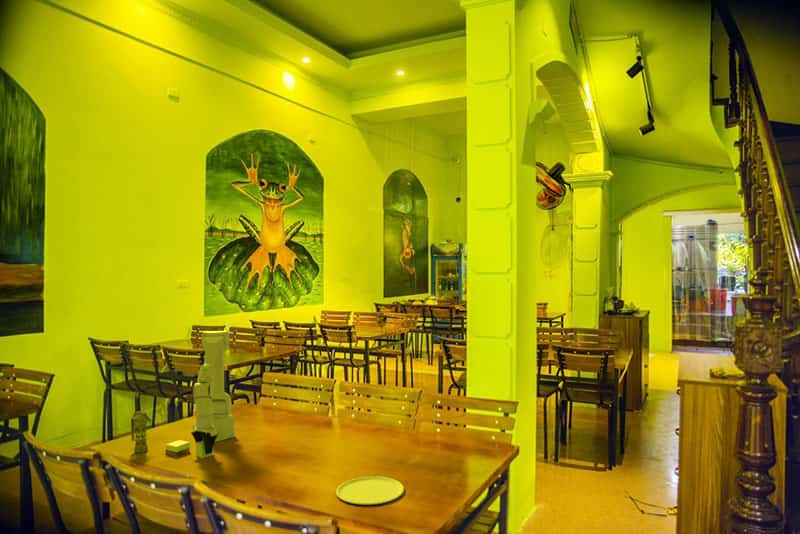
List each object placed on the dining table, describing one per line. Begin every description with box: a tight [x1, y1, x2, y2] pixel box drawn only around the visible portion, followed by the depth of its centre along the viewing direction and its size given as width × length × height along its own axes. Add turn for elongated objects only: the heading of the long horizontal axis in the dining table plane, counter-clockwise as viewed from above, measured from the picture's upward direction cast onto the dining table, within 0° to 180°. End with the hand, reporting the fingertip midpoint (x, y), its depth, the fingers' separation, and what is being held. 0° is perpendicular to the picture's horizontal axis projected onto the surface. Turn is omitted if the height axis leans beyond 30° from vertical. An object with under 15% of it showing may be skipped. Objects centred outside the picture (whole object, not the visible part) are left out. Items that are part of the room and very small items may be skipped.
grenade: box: [130, 410, 152, 454], centre depth 209 cm, size 7×7×15 cm
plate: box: [335, 475, 405, 506], centre depth 166 cm, size 21×21×1 cm
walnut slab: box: [165, 448, 190, 457], centre depth 206 cm, size 6×6×2 cm
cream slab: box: [165, 439, 191, 452], centre depth 206 cm, size 6×6×2 cm
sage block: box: [195, 441, 215, 459], centre depth 202 cm, size 4×4×5 cm
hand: (204, 451), depth 202 cm, fingers open, 5 cm apart
